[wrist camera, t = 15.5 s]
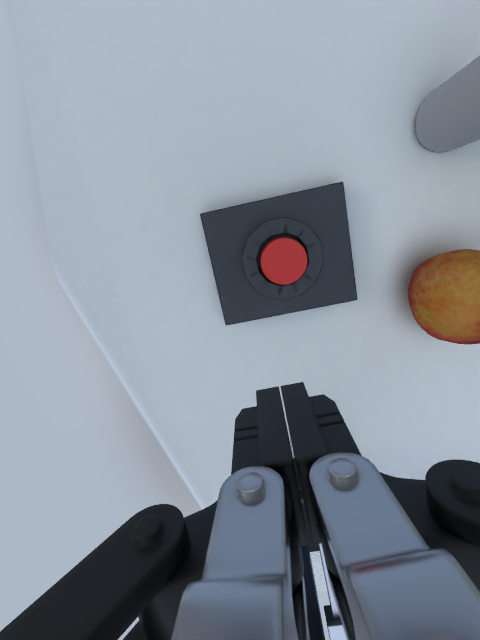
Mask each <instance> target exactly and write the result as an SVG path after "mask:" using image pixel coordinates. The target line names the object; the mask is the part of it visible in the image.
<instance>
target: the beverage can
mask: <svg viewBox="0 0 480 640" xmlns="http://www.w3.org/2000/svg"><path fill="white" fill-rule="evenodd" d="M415 128H416V135H417V138H418V140H419V142H420V143H421V144H422V145H423V146H424V147H425V148H427V149H429V150H430V151H434V152H447V151H450V150H453V149H456V148H458V147H461V146H463V145H466V144H469V143H471V142H474V141H476V140H479V139H480V56H479V57H478V58H476V59H475V60H474V61H472V62H471V63H470V64H468V65H467V66H466V67H464V68H463V69H462V70H460V71H459V72H458V73H456V74H455V75H454V76H452V77H451V78H450V79H448V80H447V81H446V82H444V83H443V84H442V85H440V86H439V87H438V88H437V89H435V90H434V91H433V92H431V93H430V94H429V95H428V96H427V97H426V98H425V99H424V101H423V102H422V104H421V106H420V108H419V110H418V114H417V117H416V125H415Z"/></svg>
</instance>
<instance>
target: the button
mask: <svg viewBox="0 0 480 640" xmlns="http://www.w3.org/2000/svg"><path fill="white" fill-rule="evenodd" d="M260 262H261V267H262V270H263V273H264V274H265V276H266V277H267V278H268V279H269V280H270V281H272V282H274V283H276V284H281V285H286V284H291V283H293V282H295V281H297V280H298V279H299V278H300V277H301V276H302V275H303V274H304V272H305V270H306V267H307V262H308V259H307V253H306V251H305V249H304V247H303V246H302V245H301V244H300V243H299V242H298V241H296V240H294V239H291V238H287V237H279V238H275V239H273V240H271V241H270V242H269V243H267V244H266V246H265V247H264V249H263V250H262V253H261V258H260Z"/></svg>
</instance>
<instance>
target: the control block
mask: <svg viewBox="0 0 480 640" xmlns="http://www.w3.org/2000/svg"><path fill="white" fill-rule="evenodd" d="M200 216H201V221H202V225H203V229H204V233H205V238H206V242H207V246H208V251H209V255H210V259H211V264H212V268H213V272H214V277H215V281H216V285H217V290H218V294H219V298H220V302H221V307H222V311H223V315H224V320H225V324H226V325H230V324H236V323H241V322H246V321H251V320H256V319H261V318H266V317H272V316H277V315H282V314H287V313H292V312H297V311H303V310H308V309H313V308H318V307H323V306H328V305H333V304H339V303H344V302H349V301H354V300H357V293H356V285H355V277H354V269H353V260H352V252H351V244H350V236H349V227H348V219H347V211H346V203H345V194H344V186H343V182H339V183H335V184H330V185H326V186H321V187H317V188H312V189H308V190H304V191H299V192H295V193H290V194H286V195H282V196H277V197H273V198H268V199H264V200H259V201H255V202H251V203H246V204H242V205H237V206H233V207H228V208H224V209H220V210H215V211H211V212H206V213H202V214H200ZM279 237H287V238H291V239H294V240H296V241H298V242H299V243H300V244H301V245H302V246H303V247H304V249H305V251H306V253H307V259H308V262H307V267H306V270H305V272H304V274H303V275H302V276H301V277H300V278H299V279H298V280H297V281H295V282H293V283H291V284H286V285H281V284H276V283H274V282H272V281H270V280H269V279H268V278H267V277H266V276H265V274H264V273H263V270H262V267H261V262H260V258H261V253H262V250H263V249H264V247H265V246H266V244H267V243H269V242H270V241H271V240H273V239H275V238H279Z"/></svg>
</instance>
